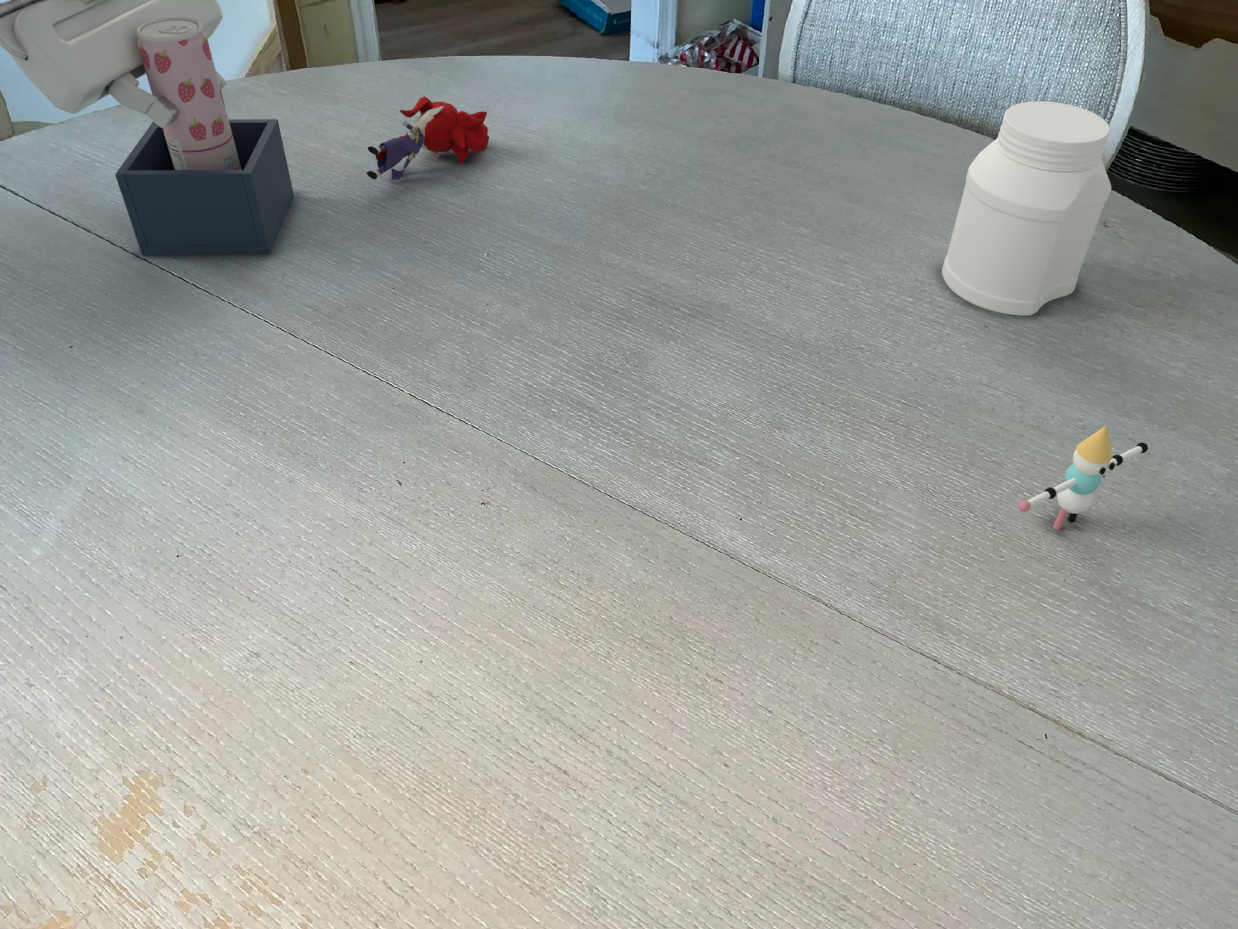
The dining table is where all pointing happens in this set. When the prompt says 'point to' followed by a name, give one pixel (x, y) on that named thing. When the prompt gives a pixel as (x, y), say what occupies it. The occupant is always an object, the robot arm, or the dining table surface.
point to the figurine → (432, 136)
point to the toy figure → (1083, 476)
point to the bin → (208, 195)
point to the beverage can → (188, 93)
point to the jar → (1029, 209)
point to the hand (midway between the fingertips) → (196, 105)
